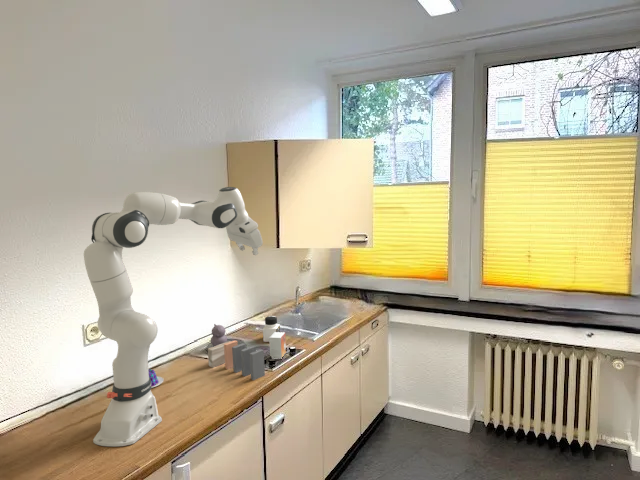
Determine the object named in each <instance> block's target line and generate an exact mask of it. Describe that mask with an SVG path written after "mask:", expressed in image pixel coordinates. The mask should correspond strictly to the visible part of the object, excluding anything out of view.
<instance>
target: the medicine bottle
mask: <svg viewBox="0 0 640 480" xmlns="http://www.w3.org/2000/svg"><path fill="white" fill-rule="evenodd" d="M264 322H265V325H264V327H262V335H263V336H262V337H263V343H269V337H271V335H272V334H273V333H274V332H281V325H280V323H278V317H276V316H274V315H268V316H266V317H265V318H264Z"/></svg>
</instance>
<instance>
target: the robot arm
mask: <svg viewBox="0 0 640 480" xmlns="http://www.w3.org/2000/svg"><path fill="white" fill-rule="evenodd" d="M242 195H243V194H242V193H241V191H240V190H239V189H238V188H237V187H234V186H226V187H222V188H220V189H218V195H216V196H217V197H216V199H214V201H213V202H211V201H206V200H199V201H195V202H192V203H187V202H180V201H179V199H178V198H177V197H175V196H172V195H170V194H165V193H160V192H152V191H138V192H131V193H128V195H127V196H126V197H125V198H124V201H123V205H122V206H123V208H122V210H121V211H120V212H105V213H102V214H100V215H98V216H97V217H96V218H95V219H94V221H93V222H92V227H91V233H92V234H91V237H90V238H91V242H92V243H91V244H89V245H87V246H86V248H85V249H84V251H83V260H84V261H83V262H84V265H85V270H86V273H87V277H88V279H89V283H90V284H91V285H90V286H91V288H92V291H93V293H94V295H95V298H96V302H97V306H98V314H99V315H98V316H99V317H98V318H97V328H98V330H99V332H100V333H101V334H102V335H103V336H104V337H106V338H108V339H109V340H112V341H114V342H116V343H117V354H116V357H115V358H114V359H113V361H112V366H111V367H112V376H113V377H112V378H113V385H112V389H111V391H108V392H107V393H106V398H107V399H111V401H110V402H109V404H108V406H107V408H106V411H105V412H104V414H103V417H102V418H101V422H100V429H99V431H98V432H97V433H96V435H94V438H93V439H92V441H93V442H92V443H93V444H95V445H97V446H102V447H124V446H130V445H133V444H135V443H136V442H138V441H139V440H140V439H141V438H142V437H144V436H145V435H146V434H147V433H149V432H150V431H151V430H152V429H154V428H155V427H156V426H157V425H159V424H160V423H161V422H162V421H163V419H162V416H161V415H159V411H158V405H157V401H156V397H155V395H154V394H153V392H152V390H151V389H152V388H151V387H152V386H151V379H150V377H149V352H150V347H151V344H152V343H153V342H154V341H155V340H156V338H157V335H158V330H159V329H158V325H157V323H156V322H155V320H154V319H152V318H151V317H150V316H148V315H147V314H145V313H142V312H137V311H135V310H134V309H133V307H132V301H131V299H132V298H131V296H132V295H133V292H134V290H133V285H132V283H131V281H130V277H129V273H128V272H127V268H126V266H125V262H124V261H123V249H124V248H126V249H132V248H137V247H139V246H141V245H142V244H144V242H146V239H147V237H148V234H149V227H150V225H157V226H160V225H161V226H166V225H168V226H169V225H174V224H175V223H176V222H177V221H178V220H179V219H181V220H190V221H191V222H193V223H194V224H196V225H199V226H206V227H210V228H214V229H215V228H216V229H224V228H226V229H225V230H226V234H227V237H228V239H229V240H230V241H232V242H234V243H235V244H236V245H237V246H238V248H239V251H242V252H244V251H245V249H246V248H245V246H247V247H250V248H251V249H253V250H252V251H251V253H252V255H254V256H257V255H258V254H259V250H258V249H259V248H260V247H262V246H263V243H264V240H263V237H262V234H261V231H260V230H259V224H258V222H256V221H255V220H253V219H252V217H250V216H249V213H248V211H247V210H246V204H245V201H244V197H243V196H242Z"/></svg>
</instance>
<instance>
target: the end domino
mask: <svg viewBox="0 0 640 480" xmlns="http://www.w3.org/2000/svg"><path fill="white" fill-rule="evenodd" d="M237 345H239V344H238V341H237V340H232V341H231V342H229V343H226V344H224V355H225V363H224V365H225V366H224V367H225V368H224V369H226V370H230V369H233V354H232V347H234V346H237Z"/></svg>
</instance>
